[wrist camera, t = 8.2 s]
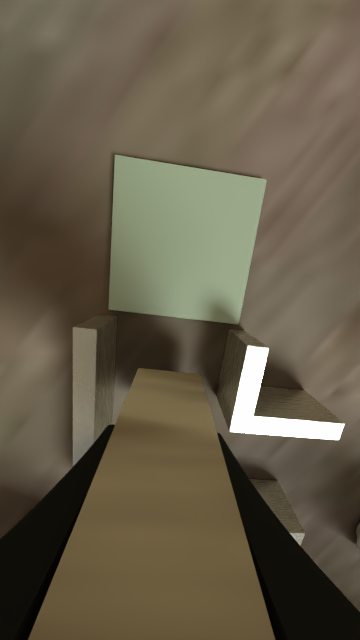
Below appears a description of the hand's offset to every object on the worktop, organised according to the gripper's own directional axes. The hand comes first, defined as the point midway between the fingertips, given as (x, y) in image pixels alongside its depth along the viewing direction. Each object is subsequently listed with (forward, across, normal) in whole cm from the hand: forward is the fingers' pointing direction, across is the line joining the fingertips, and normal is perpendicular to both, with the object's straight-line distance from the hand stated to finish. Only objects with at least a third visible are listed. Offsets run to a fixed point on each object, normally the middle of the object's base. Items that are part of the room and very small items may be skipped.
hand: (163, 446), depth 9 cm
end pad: (+6, 0, -10) cm, 11 cm away
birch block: (+3, 0, 0) cm, 3 cm away
